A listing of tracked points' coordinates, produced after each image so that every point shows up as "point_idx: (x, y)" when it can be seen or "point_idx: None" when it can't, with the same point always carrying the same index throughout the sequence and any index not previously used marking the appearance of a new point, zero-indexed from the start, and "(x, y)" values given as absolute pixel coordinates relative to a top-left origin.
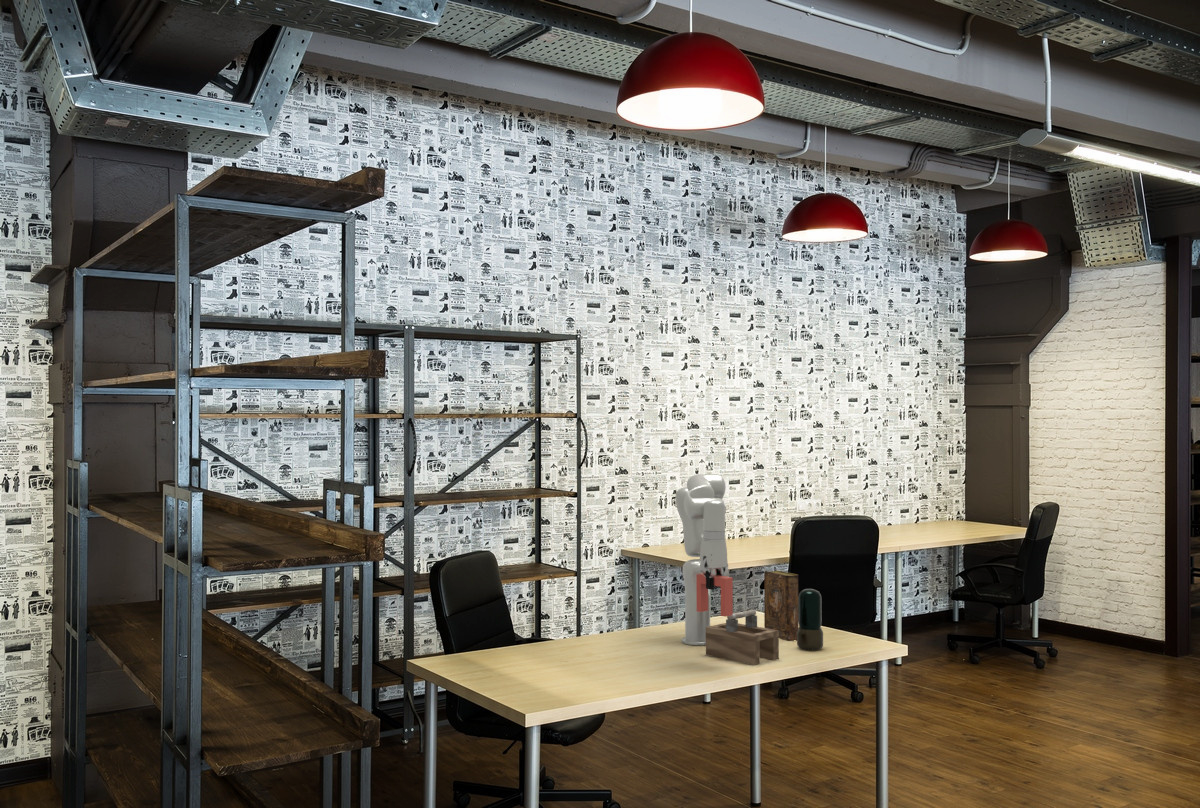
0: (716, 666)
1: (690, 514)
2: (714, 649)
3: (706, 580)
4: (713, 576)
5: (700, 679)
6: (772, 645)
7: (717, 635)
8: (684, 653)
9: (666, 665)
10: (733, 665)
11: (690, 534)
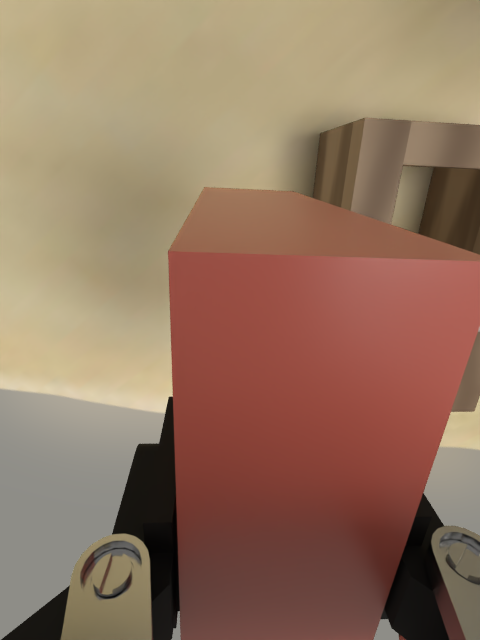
0: None
1: None
2: (322, 184)
3: (119, 511)
4: (217, 621)
5: (27, 353)
6: None
7: (340, 207)
8: (285, 32)
9: (60, 132)
10: None
11: None
